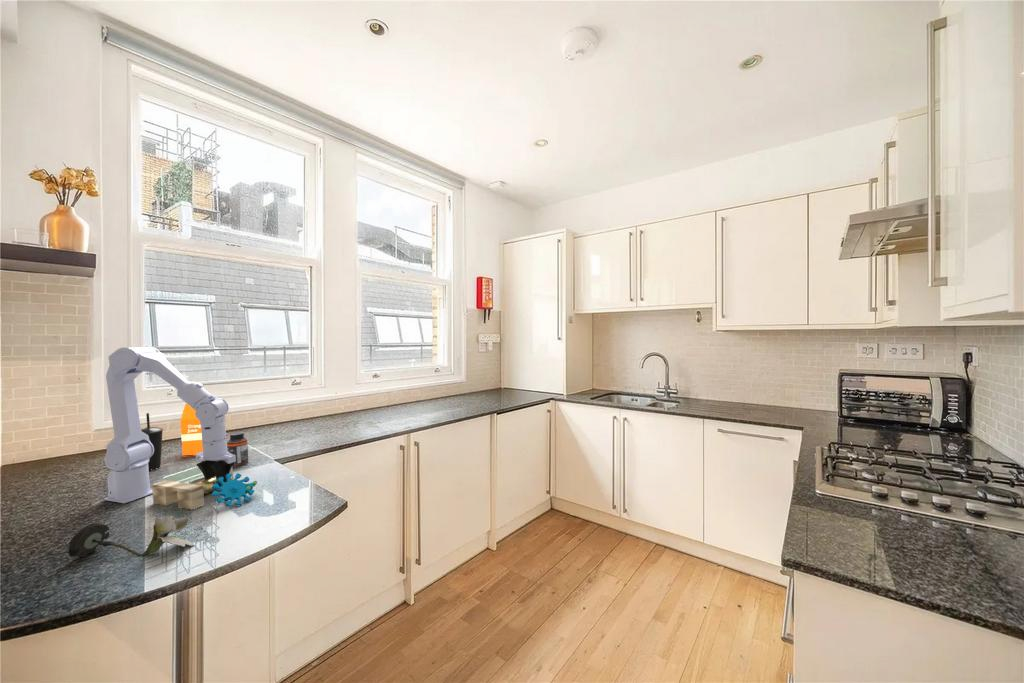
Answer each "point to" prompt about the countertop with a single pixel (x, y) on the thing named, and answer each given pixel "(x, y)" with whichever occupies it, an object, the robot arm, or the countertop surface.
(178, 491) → the beam
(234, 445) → the supplement bottle
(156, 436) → the drinking cup
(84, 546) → the artificial flower
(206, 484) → the axle
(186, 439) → the orange juice
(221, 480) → the gear
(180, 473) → the pale green slotted tray
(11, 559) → the countertop surface
